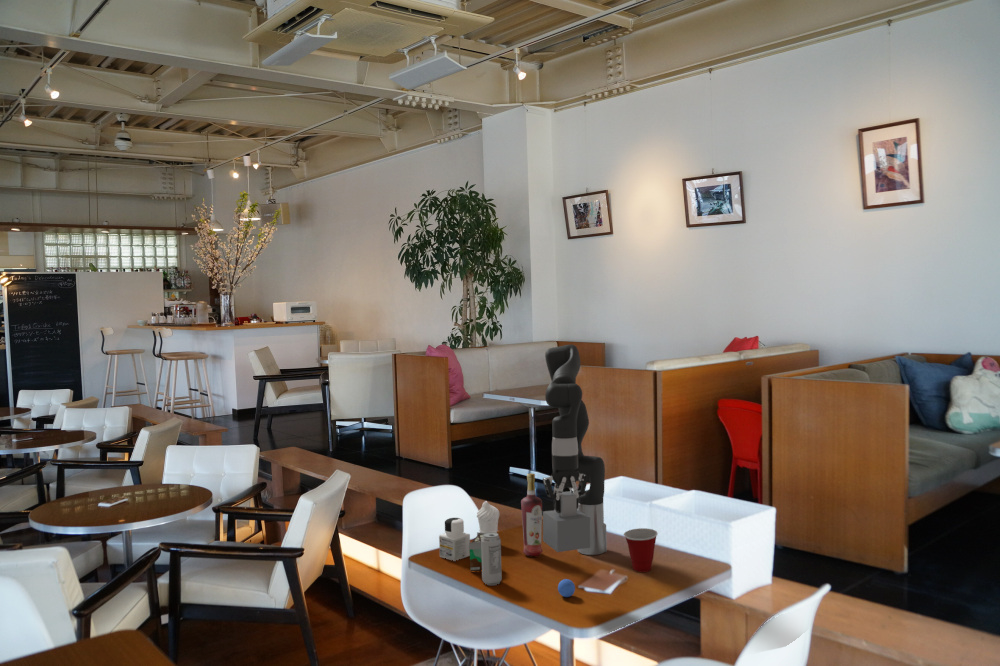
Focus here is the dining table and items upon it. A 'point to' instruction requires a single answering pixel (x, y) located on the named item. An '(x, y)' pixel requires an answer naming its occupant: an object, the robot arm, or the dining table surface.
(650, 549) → the plastic cup
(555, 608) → the dining table surface
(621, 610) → the dining table surface
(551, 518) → the grey stepped block
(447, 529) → the container
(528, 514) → the liquor
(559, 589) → the ball
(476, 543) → the food container
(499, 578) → the energy drink can
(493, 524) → the soft serve ice cream cone
